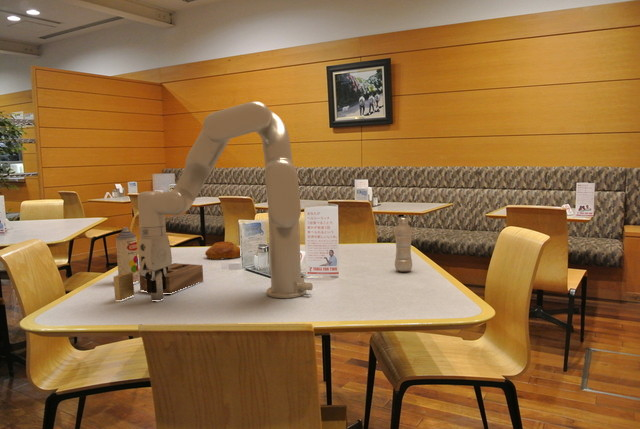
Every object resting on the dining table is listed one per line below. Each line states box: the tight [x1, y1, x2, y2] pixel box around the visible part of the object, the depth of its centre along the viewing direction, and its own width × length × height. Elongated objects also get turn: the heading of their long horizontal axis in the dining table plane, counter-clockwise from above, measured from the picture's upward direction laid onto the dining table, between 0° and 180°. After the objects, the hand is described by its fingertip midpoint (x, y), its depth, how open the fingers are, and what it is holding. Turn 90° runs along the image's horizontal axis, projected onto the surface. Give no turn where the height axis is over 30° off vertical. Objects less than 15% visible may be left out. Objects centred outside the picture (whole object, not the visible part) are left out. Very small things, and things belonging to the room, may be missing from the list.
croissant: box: [205, 241, 241, 260], centre depth 219 cm, size 14×16×8 cm
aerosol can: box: [115, 226, 140, 282], centre depth 175 cm, size 7×7×20 cm
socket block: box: [139, 262, 204, 293], centre depth 169 cm, size 12×18×6 cm, turn 158°
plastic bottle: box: [394, 216, 413, 273], centre depth 182 cm, size 6×7×20 cm
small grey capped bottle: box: [150, 270, 165, 301], centre depth 153 cm, size 4×4×11 cm
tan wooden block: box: [113, 272, 135, 300], centre depth 155 cm, size 2×6×8 cm, turn 158°
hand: (156, 290), depth 153 cm, fingers closed on small grey capped bottle, 3 cm apart
